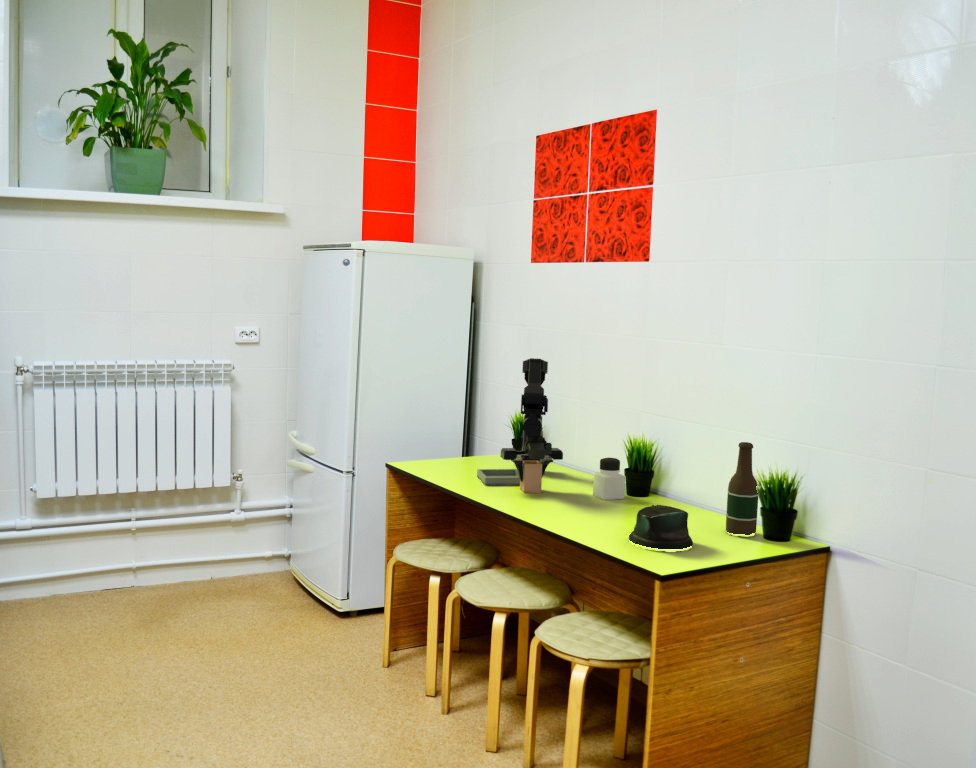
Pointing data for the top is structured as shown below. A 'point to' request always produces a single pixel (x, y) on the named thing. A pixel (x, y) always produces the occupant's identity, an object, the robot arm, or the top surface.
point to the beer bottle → (742, 495)
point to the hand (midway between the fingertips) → (530, 481)
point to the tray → (498, 476)
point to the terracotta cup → (531, 477)
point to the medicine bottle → (609, 480)
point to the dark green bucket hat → (661, 528)
